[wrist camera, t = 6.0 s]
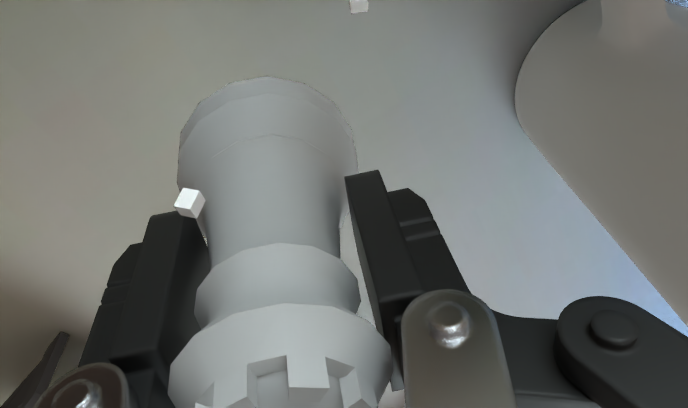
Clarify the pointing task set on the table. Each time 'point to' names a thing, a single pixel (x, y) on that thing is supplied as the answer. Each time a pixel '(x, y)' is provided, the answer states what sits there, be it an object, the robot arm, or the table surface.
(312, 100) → the rook chess piece
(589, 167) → the mug
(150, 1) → the table surface
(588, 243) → the table surface
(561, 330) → the robot arm
